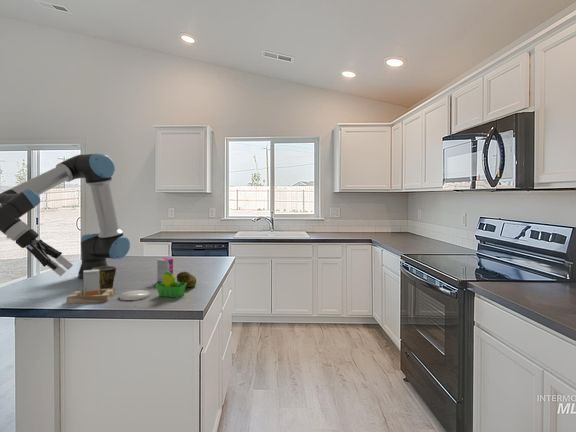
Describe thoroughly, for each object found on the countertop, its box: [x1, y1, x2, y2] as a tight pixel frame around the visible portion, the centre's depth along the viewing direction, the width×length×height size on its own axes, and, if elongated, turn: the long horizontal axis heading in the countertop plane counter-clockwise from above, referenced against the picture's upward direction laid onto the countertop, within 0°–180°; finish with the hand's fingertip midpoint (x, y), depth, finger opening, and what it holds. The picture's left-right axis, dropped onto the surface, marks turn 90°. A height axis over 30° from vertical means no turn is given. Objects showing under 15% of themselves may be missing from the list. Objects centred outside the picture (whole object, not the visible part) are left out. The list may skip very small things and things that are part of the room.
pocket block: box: [66, 288, 116, 305], centre depth 155 cm, size 12×15×2 cm
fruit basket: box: [155, 271, 187, 298], centre depth 159 cm, size 11×9×11 cm
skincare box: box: [82, 269, 100, 295], centre depth 154 cm, size 6×4×12 cm
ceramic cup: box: [92, 265, 117, 289], centre depth 168 cm, size 13×10×10 cm
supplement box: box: [156, 257, 174, 284], centre depth 186 cm, size 6×6×12 cm
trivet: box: [118, 289, 151, 301], centre depth 158 cm, size 12×12×1 cm
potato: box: [176, 271, 197, 288], centre depth 174 cm, size 8×13×8 cm, turn 151°
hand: (67, 270), depth 150 cm, fingers open, 13 cm apart
